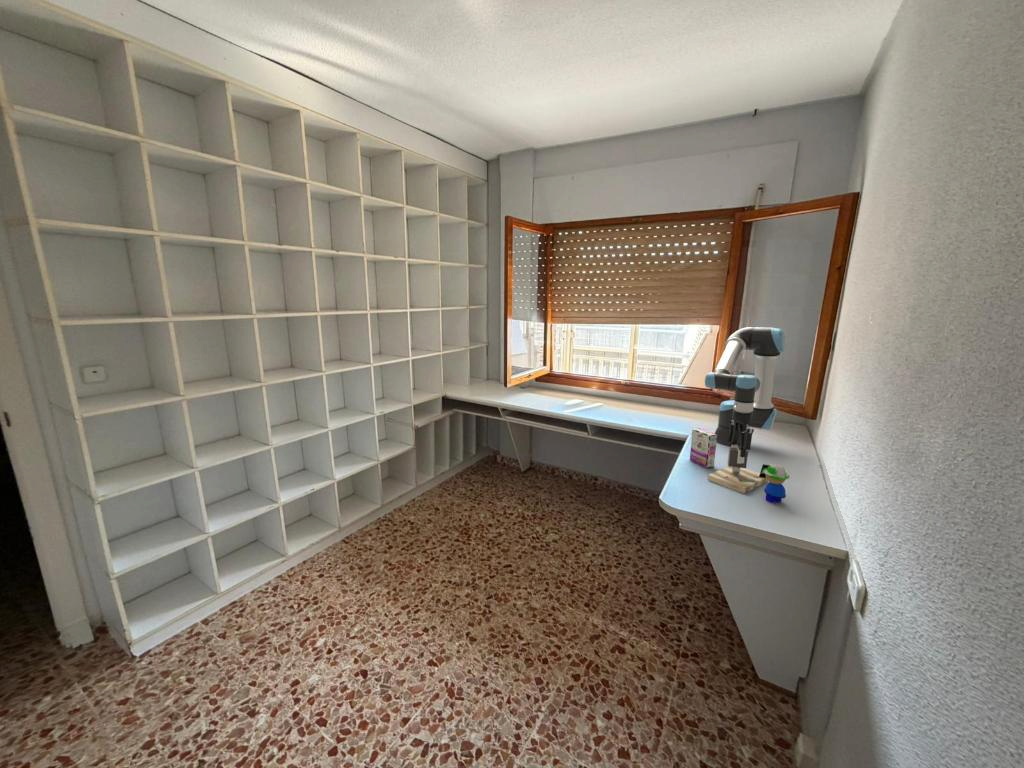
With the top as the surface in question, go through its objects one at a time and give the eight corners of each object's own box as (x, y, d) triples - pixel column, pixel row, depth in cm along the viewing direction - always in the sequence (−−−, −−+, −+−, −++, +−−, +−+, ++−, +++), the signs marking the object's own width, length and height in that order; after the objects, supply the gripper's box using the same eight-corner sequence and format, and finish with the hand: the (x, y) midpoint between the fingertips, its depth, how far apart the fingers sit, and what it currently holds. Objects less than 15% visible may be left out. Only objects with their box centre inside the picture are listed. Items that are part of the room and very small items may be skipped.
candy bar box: (714, 466, 197) (718, 434, 193) (706, 468, 195) (710, 435, 192) (696, 458, 207) (699, 427, 204) (689, 459, 205) (691, 428, 202)
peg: (726, 470, 187) (729, 447, 185) (744, 472, 185) (746, 449, 182) (730, 480, 177) (733, 456, 174) (749, 482, 175) (752, 458, 172)
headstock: (731, 469, 194) (732, 464, 194) (767, 481, 181) (768, 475, 181) (707, 479, 183) (708, 474, 183) (744, 493, 170) (745, 487, 170)
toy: (775, 494, 170) (780, 460, 167) (791, 505, 161) (796, 469, 158) (754, 494, 170) (759, 460, 167) (768, 505, 161) (773, 469, 157)
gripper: (722, 405, 186) (717, 453, 191) (748, 416, 170) (741, 469, 175) (738, 405, 187) (732, 453, 192) (764, 416, 170) (757, 468, 175)
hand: (736, 460), depth 183 cm, fingers closed on peg, 4 cm apart
